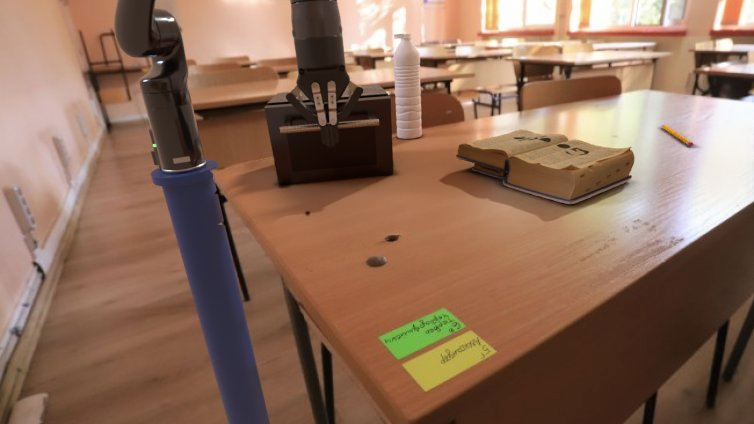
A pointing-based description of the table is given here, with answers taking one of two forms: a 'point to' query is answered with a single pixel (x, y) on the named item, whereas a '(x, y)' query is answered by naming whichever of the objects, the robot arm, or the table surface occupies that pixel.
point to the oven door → (317, 162)
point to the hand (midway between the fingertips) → (331, 146)
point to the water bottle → (407, 88)
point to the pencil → (677, 135)
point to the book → (549, 164)
